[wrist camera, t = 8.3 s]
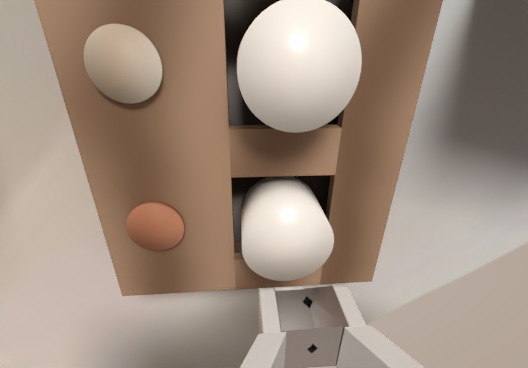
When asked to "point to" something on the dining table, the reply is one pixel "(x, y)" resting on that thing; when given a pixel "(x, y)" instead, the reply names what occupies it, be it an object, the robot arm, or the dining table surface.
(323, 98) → the middle button
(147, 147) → the button board
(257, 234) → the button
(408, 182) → the dining table surface
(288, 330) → the robot arm
